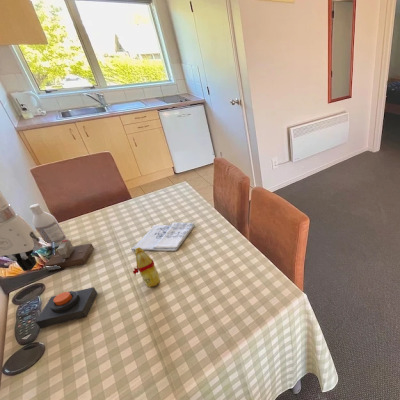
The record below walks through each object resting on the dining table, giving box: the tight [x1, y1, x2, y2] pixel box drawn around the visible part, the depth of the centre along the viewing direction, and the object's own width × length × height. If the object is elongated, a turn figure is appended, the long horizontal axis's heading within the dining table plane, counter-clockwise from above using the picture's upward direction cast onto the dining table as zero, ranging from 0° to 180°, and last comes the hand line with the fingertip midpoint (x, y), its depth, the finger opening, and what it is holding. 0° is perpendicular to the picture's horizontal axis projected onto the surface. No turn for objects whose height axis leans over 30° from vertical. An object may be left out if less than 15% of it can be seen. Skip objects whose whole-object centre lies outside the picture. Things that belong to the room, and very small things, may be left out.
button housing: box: [35, 286, 99, 329], centre depth 86 cm, size 12×10×5 cm
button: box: [53, 291, 72, 306], centre depth 85 cm, size 4×4×2 cm
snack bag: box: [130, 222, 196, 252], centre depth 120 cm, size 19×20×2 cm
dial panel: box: [44, 242, 95, 272], centre depth 108 cm, size 12×10×3 cm
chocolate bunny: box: [132, 247, 161, 288], centre depth 95 cm, size 7×11×15 cm, turn 41°
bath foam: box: [29, 203, 69, 245], centre depth 112 cm, size 7×7×20 cm
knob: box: [56, 239, 74, 259], centre depth 106 cm, size 6×2×5 cm, turn 19°
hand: (30, 267), depth 79 cm, fingers closed
